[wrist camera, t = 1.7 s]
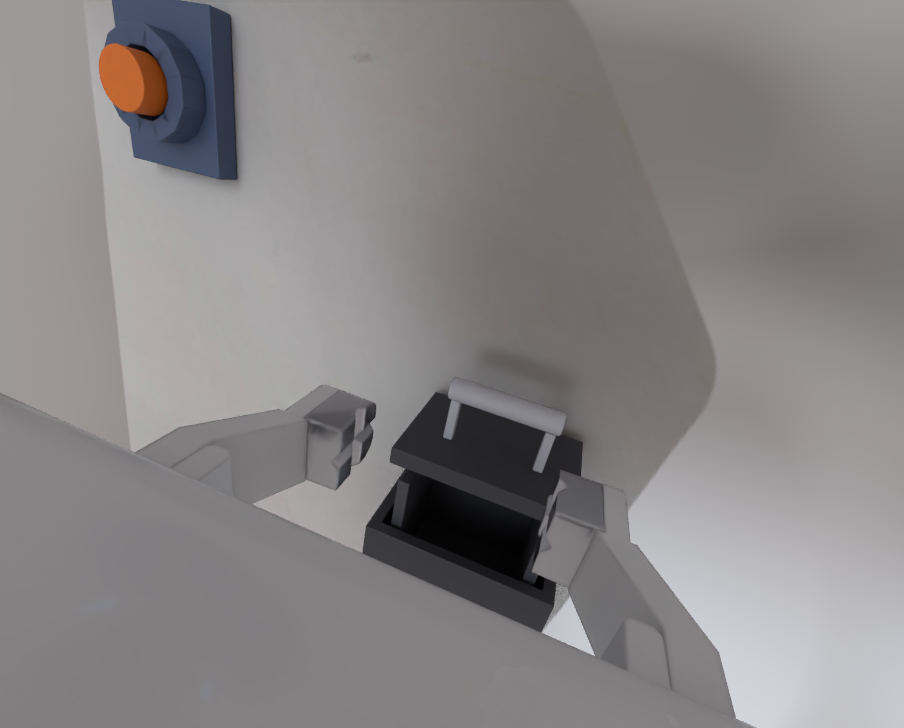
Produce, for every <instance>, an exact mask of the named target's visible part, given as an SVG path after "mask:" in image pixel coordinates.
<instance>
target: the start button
mask: <svg viewBox="0 0 904 728" xmlns="http://www.w3.org/2000/svg"><path fill="white" fill-rule="evenodd" d="M99 74H100V79H101V82H102V85H103V88H104V90H105V92H106V94H107V96H108V97H109V99H110V100H111V101H112V102H113V103H114V105H116V106H117V107H118V108H119V109H121V110H123V111H125V112H130V113H136V114H143V115H149V116H157V115H159V114H161V113H162V112H163V111H164V110H165V108H166V105H167V102H168V90H167V80H166V76H165V74H164V72H163V70H162V68H161V66H160V64H159V63H158V62H157V60H156V59H155V58H154V57H152V56H151V55H150V54H148V53H146V52H144V51H140V50H137V49H134V48H130V47H127V46H124V45H120V44H116V43H113V44H109V45H107V46H106V47H105V48H104V49H103V50H102V52H101V55H100V59H99Z"/></svg>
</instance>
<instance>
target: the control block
mask: <svg viewBox="0 0 904 728" xmlns="http://www.w3.org/2000/svg"><path fill="white" fill-rule="evenodd" d="M112 5H113V12H114V19H115V26H116V27H115V28H114V29H113V30H111V31H110V32H109V33H108V34H107V39H106V43H105V47H106V46H107V45H109V44H113V43H116V44H120V45H124V46H127V47H130V48H134V49H137V50H140V51H144V52H146V53H148V54H150V55H151V56H152V57H154V58H155V59H156V60H157V62H158V63H159V64H160V66H161V68H162V70H163V72H164V74H165V76H166V80H167V90H168V102H167V105H166V108H165V110H164V111H163V112H162V113H161V114H159V115H157V116H149V115H143V114H136V113H130V112H125V111H123V110H121V109H119V108H118V107H117V106H116V105H114V106H115V108H116V110H117V112H118V114H119V116H120V118H121V119H122V120H123V121H124V122H125V123H126V124H127V125H128V126H129V127H130V133H131V140H132V147H133V154H134V157H135V158H139V159H143V160H147V161H151V162H154V163H158V164H162V165H166V166H170V167H174V168H178V169H181V170H185V171H189V172H193V173H197V174H201V175H205V176H208V177H212V178H216V179H230V180H236V179H237V172H236V148H235V123H234V98H233V74H232V49H231V25H230V15H229V14H227V13H225V12H223V11H221V10H219V9H217V8H214V7H212V6H210V5H206V4H200V3H193V2H187V1H180V0H112ZM113 104H114V103H113Z"/></svg>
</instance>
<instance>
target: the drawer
mask: <svg viewBox="0 0 904 728" xmlns="http://www.w3.org/2000/svg"><path fill="white" fill-rule="evenodd" d="M566 417H567V414H566V413H563V412H560V411H557V410H554V409H551V408H548V407H545V406H542V405H539V404H536V403H533V402H530V401H527V400H524V399H521V398H518V397H515V396H512V395H509V394H506V393H503V392H500V391H497V390H494V389H491V388H488V387H485V386H482V385H479V384H476V383H473V382H470V381H467V380H464V379H461V378H458V377H455V378H454V379H453V381H452V383H451V385H450V388H449V392H448V396H446V395H444V394H441V393H438V392H436V393H435V394H434V395H433V397H432V398H431V399H430V400H429V402H428V403H427V404H426V405H425V407H424V408H423V409H422V410H421V412H420V413H419V414H418V415H417V417H416V418H415V419H414V420H413V422H412V423H411V424H410V425H409V427H408V428H407V429H406V430H405V432H404V433H403V434H402V436H401V437H400V438H399V439H398V441H397V442H396V443H395V444H394V446H393V447H392V450H391V457H390V462H391V463H393V464H396V465H398V466H401V467H403V468H406V470H405V472H404V473H403V475H402V476H401V477H400V479H399V480H398V486H397V492H396V497H395V503H394V509H393V515H392V520H391V527H394V528H396V529H399V530H401V531H403V532H406V533H408V534H410V535H413V536H415V537H417V538H420V539H422V540H424V541H427V542H429V543H432V544H434V545H436V546H439V547H441V548H443V549H446V550H448V551H450V552H453V553H455V554H457V555H460V556H462V557H465V558H467V559H469V560H472V561H474V562H476V563H479V564H481V565H483V566H486V567H488V568H490V569H493V570H495V571H498V572H500V573H502V574H505V575H507V576H509V577H512V578H514V579H516V580H519V581H521V582H524V583H526V584H528V585H531V586H534V584H535V582H536V579H537V577H538V574H535V573H533V572H531V571H532V565H533V559H534V553H535V548H536V545H537V543H538V540H539V538H540V537H539V535H538V530H539V525H540V521H541V517H542V513H543V510H544V507H545V504H546V502H547V499H548V496H550V495H552V491H553V485H554V481H555V479H556V476H557V474H558V472H559V470H563V471H565V472H568V473H571V474H574V475H577V476H580V477H581V465H582V448H583V442H581V441H578V440H575V439H572V438H569V437H566V436H563V435H561V433H562V430H563V428H564V425H565V421H566Z"/></svg>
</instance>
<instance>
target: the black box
mask: <svg viewBox="0 0 904 728" xmlns="http://www.w3.org/2000/svg"><path fill="white" fill-rule="evenodd" d="M405 470H406V469H405ZM405 470H404V472H405ZM404 472H403V473H404ZM403 473H402V475H403ZM402 475H401V476H402ZM401 476H400V477H401ZM400 477H399V479H400ZM399 479H398V480H399ZM398 480H397V482H396V483H395V485H394V486H393V488H392V489H391V491H390V492H389V493H388V495H387V496H386V498H385V499H384V501H383V502H382V504H381V505H380V507H379V508H378V509H377V511H376V512H375V514H374V515H373V517H372V518H371V520H370V521H369V523H368V524H367V525H366V531H365V538H364V545H363V554H365V555H367V556H370V557H372V558H374V559H376V560H379V561H381V562H383V563H385V564H388V565H390V566H392V567H395V568H397V569H399V570H401V571H404V572H406V573H408V574H410V575H413V576H415V577H417V578H419V579H422V580H424V581H426V582H429V583H431V584H433V585H435V586H438V587H440V588H442V589H444V590H446V591H449V592H451V593H453V594H455V595H458V596H460V597H462V598H464V599H467V600H469V601H471V602H473V603H476V604H478V605H480V606H482V607H485V608H487V609H489V610H491V611H494V612H496V613H498V614H500V615H503V616H505V617H507V618H509V619H512V620H514V621H516V622H518V623H521V624H523V625H525V626H527V627H530V628H532V629H534V630H536V631H539V632H542V630H543V628H544V626H545V624H546V622H547V620H548V618H549V616H550V613H551V611H552V609H553V607H554V600H555V591H556V582H553V581H551V580H549V579H547V578H544V577H542V576H540V575H538V577H537V579H536V582H535V584H534V586H531V585H528V584H526V583H524V582H521V581H519V580H516V579H514V578H512V577H509V576H507V575H505V574H502V573H500V572H498V571H495V570H493V569H490V568H488V567H486V566H483V565H481V564H479V563H476V562H474V561H472V560H469V559H467V558H465V557H462V556H460V555H457V554H455V553H453V552H450V551H448V550H446V549H443V548H441V547H439V546H436V545H434V544H432V543H429V542H427V541H424V540H422V539H420V538H417V537H415V536H413V535H410V534H408V533H406V532H403V531H401V530H399V529H396V528H394V527H391V520H392V515H393V509H394V503H395V497H396V492H397V486H398Z"/></svg>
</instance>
